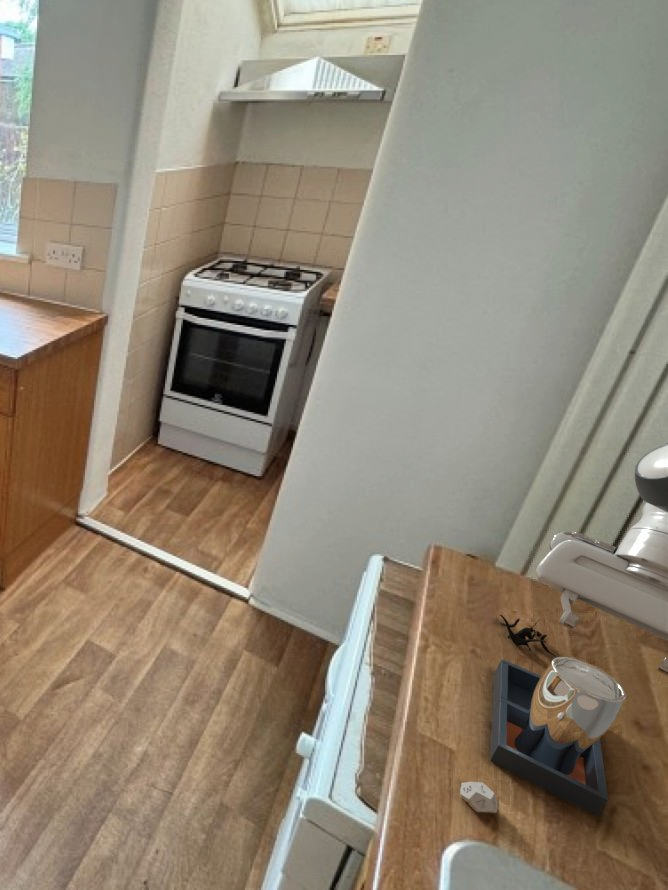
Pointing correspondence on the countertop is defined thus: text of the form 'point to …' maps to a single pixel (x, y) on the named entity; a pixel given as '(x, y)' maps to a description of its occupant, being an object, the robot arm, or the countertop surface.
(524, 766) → the glass rack
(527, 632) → the creature
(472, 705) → the countertop surface
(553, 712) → the beer glass
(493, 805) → the game die
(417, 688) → the countertop surface
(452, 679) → the countertop surface
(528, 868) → the countertop surface
